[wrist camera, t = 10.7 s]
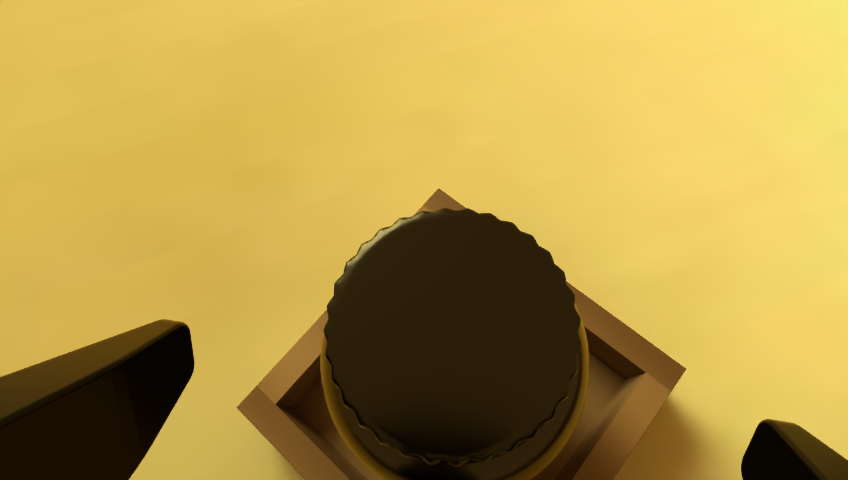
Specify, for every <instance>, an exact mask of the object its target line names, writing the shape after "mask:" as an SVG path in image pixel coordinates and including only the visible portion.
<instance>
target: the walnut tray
mask: <svg viewBox="0 0 848 480" xmlns="http://www.w3.org/2000/svg"><path fill="white" fill-rule="evenodd" d="M442 208H449V209H452V210H455V211H457V210H461V209H466V208H465V207H464V206H462V205H461V204H460V203H458V202H457V201H455V200H454V199H453V198H451V197H450V196H449V195H447V194H446V193H444V192H443V191H442V190H440V189H438V190H437V191H436V192H435V193H434V194H433V195H432V196H431V197H430V198H429V199H428V200H427V202H426V203H425V204H424V205H423V206H422V207H421V208H420V209H419V210H418V211H417V212H416V213H415V215H416V214H417V213H419V212H421V211H429V212H435V211H437V210H439V209H442ZM566 284H567V286H568V287H569V288H570V289H571V290H572V291H573V293H574V294H575V305H576V306H577V309H578V311H579V314H580V316H581V318H582V321H583V325H584V328H585V331H586V336H587V341H588V346H589V356H590V377H589V387H588V392H587V397H586V402H585V405H584V408H583V412H582V415H581V417H580V420H579V422H578V424H577V426H576V429H575V430H574V432H573V434H572V436H571V438H570V439H569V441H568V442H567V444H566V445H565V447H564V448H563V449H562V451H561V452H560V453H559V455H558V456H557V457H556V458H555V459H554V460H553V461H552V462H551V464H549V465H548V466H547V467H546V468H545V469H544V470H543V471H542V472H541V473H539V474H538V475H537V476H535V477H534V478H532V479H531V480H613V478H614V477H615V475H616V474H617V472H618V471H619V469H620V468H621V466H622V465H623V463H624V462H625V460H626V459H627V457H628V456H629V454H630V453H631V451H632V450H633V448H634V447H635V445H636V444H637V442H638V441H639V439H640V438H641V436H642V435H643V433H644V432H645V430H646V429H647V427H648V426H649V424H650V423H651V421H652V420H653V418H654V417H655V415H656V414H657V412H658V411H659V409H660V408H661V406H662V405H663V403H664V402H665V400H666V399H667V397H668V396H669V394H670V393H671V391H672V390H673V388H674V387H675V385H676V384H677V382H678V381H679V379H680V378H681V376H682V375H683V373H684V372H685V370H686V368H684V367H683V366H682V365H680V364H679V363H677V362H676V361H675V360H673V359H672V358H671V357H669V356H668V355H666V354H665V353H664V352H662V351H661V350H660V349H658V348H657V347H655V346H654V345H653V344H651V343H650V342H649V341H647V340H646V339H645V338H643V337H642V336H640V335H639V334H638V333H636V332H635V331H634V330H632V329H631V328H629V327H628V326H627V325H625V324H624V323H623V322H621V321H620V320H618V319H617V318H616V317H614V316H613V315H612V314H610V313H609V312H608V311H606V310H605V309H603V308H602V307H601V306H599V305H598V304H597V303H595V302H594V301H592V300H591V299H590V298H588V297H587V296H586V295H584V294H583V293H582V292H580V291H579V290H577V289H576V288H575V287H573V286H572V285H571V284H569V283H568V282H566ZM327 318H328V313H327V310H326V311H325V312H324V313H323V314H322V316H321V317H320V318H319V319H318V320H317V321H316V322H315V323H314V324H313V325H312V326H311V327H310V329H309V330H308V331H307V332H306V333H305V334H304V335H303V336H302V337H301V338H300V339H299V340H298V342H297V343H296V344H295V345H294V346H293V347H292V348H291V349H290V350H289V351H288V352H287V353H286V355H285V356H284V357H283V358H282V359H281V360H280V361H279V362H278V363H277V364H276V365H275V367H274V368H273V369H272V370H271V371H270V372H269V373H268V374H267V375H266V376H265V377H264V378H263V380H262V381H261V382H260V383H259V384H258V385H257V386H256V387H255V388H254V389H253V390H252V391H251V393H250V394H249V395H248V396H247V397H246V398H245V399H244V400H243V401H242V402H241V403H240V404H239V406H238V407H237V408H238V410H239V411H240V412H241V413H242V414H243V415H244V416H245V417H246V418H247V419H248V420H249V421H250V422H251V423H252V424H253V425H254V426H255V427H256V428H257V429H258V430H259V432H260V433H261V434H262V435H263V436H264V437H265V438H266V439H267V440H268V441H269V442H270V443H271V444H272V445H273V446H274V447H275V448H276V449H277V450H278V451H279V452H280V453H281V455H282V456H283V457H284V458H285V459H286V460H287V461H288V462H289V463H290V464H291V465H292V466H293V467H294V468H295V469H296V470H297V471H298V472H299V473H300V474H301V475H302V476H303V478H304V479H305V480H382V479H381V478H379V477H378V476H376V475H375V474H374V473H373V472H371V471H370V470H369V469H368V468H367V467H366V466H364V465H363V464H362V463H361V462H360V461H359V460H358V459H357V457H356V456H355V455H354V454H353V453H352V451H351V450H350V449H349V448H348V446H347V445H346V443H345V442H344V440H343V439H342V437H341V436H340V434H339V432H338V430H337V429H336V427H335V425H334V423H333V420H332V418H331V416H330V413H329V411H328V407H327V404H326V401H325V398H324V393H323V388H322V381H321V371H320V355H321V344H322V338H323V333H324V332H323V330H324V327H325V324H326V322H327Z"/></svg>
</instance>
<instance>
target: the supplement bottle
mask: <svg viewBox="0 0 848 480" xmlns="http://www.w3.org/2000/svg"><path fill="white" fill-rule="evenodd" d="M327 313H328V318H327V322H326V324H325V327H324V330H323V332H324V333H323V338H322V344H321V355H320V371H321V381H322V388H323V393H324V398H325V401H326V404H327V407H328V411H329V413H330V416H331V418H332V420H333V423H334V425H335V427H336V429H337V430H338V432H339V434H340V436H341V437H342V439H343V440H344V442H345V443H346V445H347V446H348V448H349V449H350V450H351V451H352V453H353V454H354V455H355V456H356V457H357V459H358V460H359V461H360V462H361V463H362V464H363V465H364V466H366V467H367V468H368V469H369V470H370V471H371V472H373V473H374V474H375V475H376V476H378V477H379V478H381V479H382V480H531V479H532V478H534V477H535V476H537V475H538V474H539V473H541V472H542V471H543V470H544V469H545V468H546V467H547V466H548V465H549V464H551V462H552V461H553V460H554V459H555V458H556V457H557V456H558V455H559V453H560V452H561V451H562V449H563V448H564V447H565V445H566V444H567V442H568V441H569V439H570V438H571V436H572V434H573V432H574V430H575V429H576V426H577V424H578V422H579V420H580V417H581V415H582V412H583V408H584V405H585V402H586V397H587V392H588V387H589V377H590V356H589V346H588V341H587V336H586V331H585V328H584V325H583V321H582V318H581V316H580V314H579V311H578V309H577V306H576V305H575V294H574V293H573V291H572V290H571V289H570V288H569V287H568V286H567V284H566V277H565V273H564V271H562V270H561V269H560V268H559V267H558V266H557V265H555V264H554V262H553V258H552V256H551V254H550V252H549V251H547V250H545V249H544V248H542V247H540V246H538V244H537V242H536V240H535V239H534V237H533V236H532V235H530V234H527V233H524V232H521V231H520V230H519V229H518V228H517V226H515V225H514V224H513V223H512V222H508V221H501V220H499V219H497V218H496V217H495V216H494V215H492V214H491V213H480V214H478V213H477V212H475V211H473V210H470V209H468V208H467V209H461V210H457V211H455V210H452V209H449V208H442V209H439V210H437V211H435V212H429V211H421V212H419V213H417V214H416V215H414V216H413V217H409V218H406V217H405V218H400V219H398V220H397V221H396V222H395V223H394V224H393V225H392V226H390V227H386V228H383V229H380V230H379V231H378V232H377V233H376V235H375V236H374V238H373V239H372V240H370V241H367V242H365V243H363V244H361V246H360V248H359V250H358V253H357V255H356V256H354V257H353V258H351V259H350V260H349V261H348V262H346V265H345V269H344V274H343V275H342V276H341V277H340V278H339V279H338V280H337V281H336V282H335V285H334V296H333V298H332V299H331V300H330V302H329V303H328V305H327Z"/></svg>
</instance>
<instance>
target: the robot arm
mask: <svg viewBox="0 0 848 480" xmlns="http://www.w3.org/2000/svg"><path fill="white" fill-rule="evenodd" d="M193 370H194V356H193V349H192V342H191V335H190V329H189V327H188V325H187V324H185V323H183V322H178V321H172V320H165V319H163V320H158V321H155V322H152V323H150V324H147V325H144V326H141V327H138V328H136V329H133V330H130V331H127V332H125V333H122V334H119V335H116V336H113V337H111V338H108V339H105V340H102V341H100V342H97V343H94V344H91V345H88V346H86V347H83V348H80V349H77V350H75V351H72V352H69V353H66V354H63V355H61V356H58V357H55V358H52V359H49V360H47V361H44V362H41V363H38V364H36V365H33V366H30V367H27V368H24V369H22V370H19V371H16V372H13V373H11V374H8V375H5V376H2V377H0V480H129V478H130V477H131V476H132V474H133V473H134V471H135V470H136V468H137V467H138V466H139V464H140V463H141V461H142V460H143V458H144V457H145V455H146V453H147V452H148V450H149V449H150V447H151V445H152V444H153V442H154V440H155V438H156V437H157V435H158V433H159V432H160V430H161V428H162V426H163V425H164V423H165V421H166V420H167V418H168V416H169V414H170V413H171V411H172V409H173V407H174V406H175V404H176V402H177V401H178V399H179V397H180V395H181V394H182V392H183V390H184V389H185V387H186V385H187V383H188V382H189V380H190V378H191V376H192V373H193ZM741 472H742V478H743V480H848V460H847V459H845V458H844V457H842V456H841V455H840V454H838V453H837V452H835V451H834V450H833V449H831V448H830V447H828V446H827V445H826V444H824V443H823V442H821V441H820V440H818V439H817V438H816V437H814V436H813V435H811V434H810V433H809V432H807V431H806V430H804V429H803V428H802V427H800V426H798V425H796V424H794V423H790V422H784V421H778V420H771V419H766V420H763V421H761V422H760V423H759V425H758V426H757V428H756V430H755V433H754V435H753V437H752V439H751V441H750V443H749V446H748V448H747V450H746V452H745V454H744V456H743V459H742V464H741Z"/></svg>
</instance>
